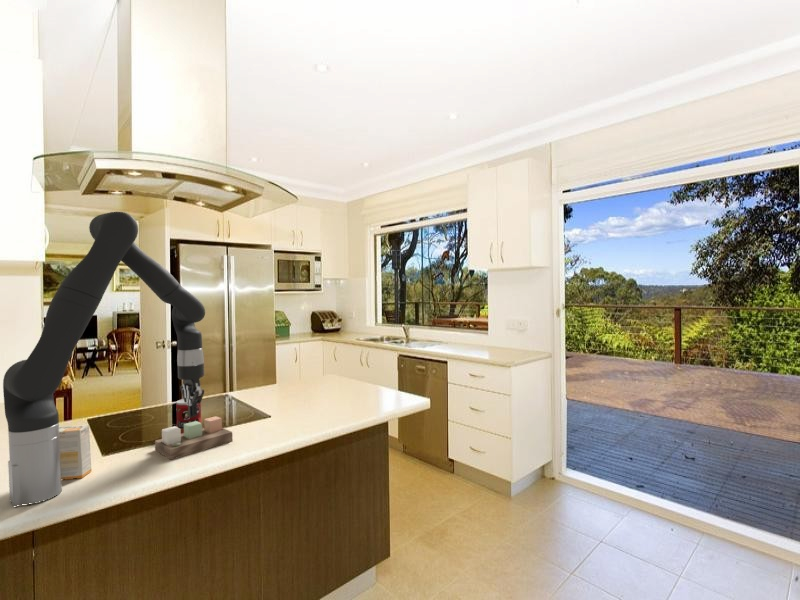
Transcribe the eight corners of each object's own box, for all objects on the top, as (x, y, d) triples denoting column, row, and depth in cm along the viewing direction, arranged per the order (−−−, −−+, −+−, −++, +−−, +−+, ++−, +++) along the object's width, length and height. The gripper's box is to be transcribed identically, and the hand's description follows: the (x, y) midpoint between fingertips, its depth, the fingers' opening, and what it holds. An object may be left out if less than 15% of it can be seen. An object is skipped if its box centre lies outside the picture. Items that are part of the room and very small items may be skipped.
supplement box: (92, 471, 116) (90, 424, 115) (82, 478, 111) (80, 429, 111) (59, 473, 114) (57, 426, 114) (47, 481, 110) (45, 432, 109)
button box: (170, 459, 122) (170, 447, 122) (155, 450, 130) (154, 438, 130) (232, 441, 137) (232, 430, 137) (215, 433, 145) (215, 423, 145)
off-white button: (167, 445, 126) (166, 432, 126) (162, 442, 129) (161, 429, 129) (181, 441, 129) (180, 428, 129) (175, 438, 132) (175, 426, 132)
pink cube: (210, 433, 136) (209, 421, 136) (204, 431, 139) (204, 419, 139) (221, 430, 139) (221, 418, 139) (216, 427, 142) (215, 416, 142)
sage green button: (189, 439, 131) (189, 426, 131) (184, 436, 134) (183, 424, 134) (202, 435, 134) (201, 423, 134) (196, 433, 137) (196, 421, 137)
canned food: (174, 436, 143) (173, 404, 143) (180, 428, 150) (179, 398, 150) (199, 433, 145) (198, 402, 145) (203, 426, 153) (202, 396, 152)
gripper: (169, 362, 135) (172, 415, 136) (187, 367, 126) (189, 423, 127) (193, 359, 141) (195, 410, 141) (211, 363, 132) (214, 417, 133)
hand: (193, 416), depth 134 cm, fingers closed
